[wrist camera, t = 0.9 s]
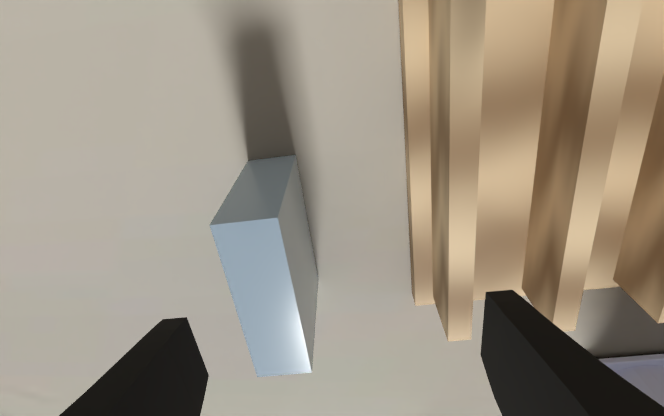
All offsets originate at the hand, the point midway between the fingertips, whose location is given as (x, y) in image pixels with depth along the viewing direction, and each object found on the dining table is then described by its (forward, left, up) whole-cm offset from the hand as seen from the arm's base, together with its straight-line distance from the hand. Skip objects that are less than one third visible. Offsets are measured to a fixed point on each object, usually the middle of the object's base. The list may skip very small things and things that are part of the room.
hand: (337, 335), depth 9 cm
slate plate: (-2, +3, -10) cm, 10 cm away
